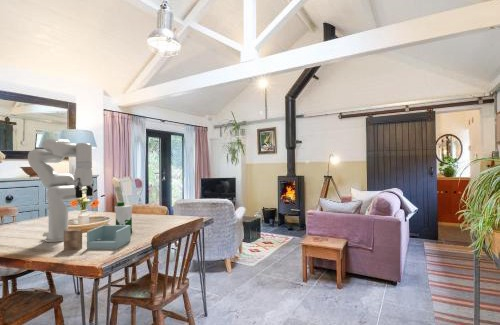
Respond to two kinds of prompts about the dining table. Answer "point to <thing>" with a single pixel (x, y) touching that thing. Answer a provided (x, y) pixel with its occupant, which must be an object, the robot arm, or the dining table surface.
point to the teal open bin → (108, 236)
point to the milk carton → (123, 214)
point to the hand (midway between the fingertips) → (84, 196)
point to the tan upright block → (73, 239)
